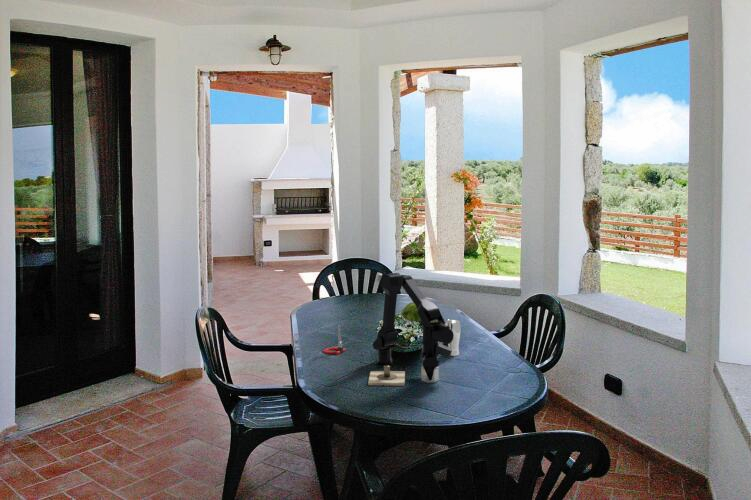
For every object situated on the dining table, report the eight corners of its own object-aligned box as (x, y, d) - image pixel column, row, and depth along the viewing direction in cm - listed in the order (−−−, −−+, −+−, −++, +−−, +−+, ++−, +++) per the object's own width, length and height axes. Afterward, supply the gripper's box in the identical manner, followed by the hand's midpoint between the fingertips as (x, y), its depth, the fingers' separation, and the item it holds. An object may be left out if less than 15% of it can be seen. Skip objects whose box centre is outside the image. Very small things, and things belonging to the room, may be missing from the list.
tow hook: (320, 353, 278) (337, 355, 273) (318, 326, 276) (335, 327, 272) (330, 349, 285) (347, 350, 280) (328, 322, 284) (345, 323, 279)
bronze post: (384, 375, 242) (384, 364, 241) (390, 375, 242) (390, 364, 241) (383, 377, 240) (383, 366, 239) (389, 377, 239) (389, 366, 239)
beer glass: (463, 355, 271) (463, 322, 269) (449, 357, 268) (449, 323, 266) (455, 350, 277) (455, 318, 275) (441, 352, 275) (441, 320, 273)
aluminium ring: (421, 376, 243) (421, 364, 243) (438, 376, 243) (438, 364, 242) (421, 382, 237) (421, 370, 236) (439, 382, 236) (439, 370, 236)
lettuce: (410, 310, 323) (391, 296, 310) (449, 307, 309) (430, 292, 296) (404, 342, 315) (384, 329, 302) (444, 341, 301) (425, 327, 288)
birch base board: (370, 373, 248) (370, 370, 248) (404, 373, 247) (404, 370, 247) (368, 385, 234) (368, 382, 234) (404, 385, 233) (404, 382, 233)
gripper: (452, 345, 228) (452, 385, 230) (449, 332, 246) (449, 369, 248) (422, 345, 229) (422, 385, 231) (421, 332, 247) (421, 369, 249)
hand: (430, 376), depth 240 cm, fingers closed on aluminium ring, 7 cm apart
